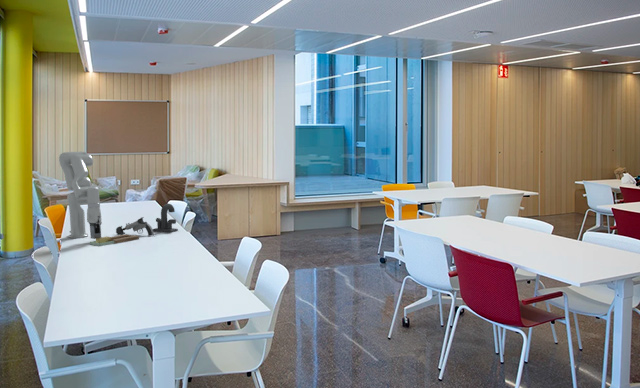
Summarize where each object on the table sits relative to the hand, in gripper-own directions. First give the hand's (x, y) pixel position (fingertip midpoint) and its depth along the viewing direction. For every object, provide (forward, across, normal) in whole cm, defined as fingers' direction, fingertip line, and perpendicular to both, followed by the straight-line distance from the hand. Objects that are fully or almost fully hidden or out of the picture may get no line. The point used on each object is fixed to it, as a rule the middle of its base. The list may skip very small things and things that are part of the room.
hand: (95, 232), depth 372 cm
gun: (+7, 0, +30) cm, 31 cm away
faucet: (+7, +5, +56) cm, 57 cm away
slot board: (+6, +11, +12) cm, 17 cm away
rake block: (+4, 0, 0) cm, 4 cm away
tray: (+6, +11, -2) cm, 13 cm away
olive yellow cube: (+6, +11, 0) cm, 12 cm away
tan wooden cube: (+6, +11, -4) cm, 13 cm away
